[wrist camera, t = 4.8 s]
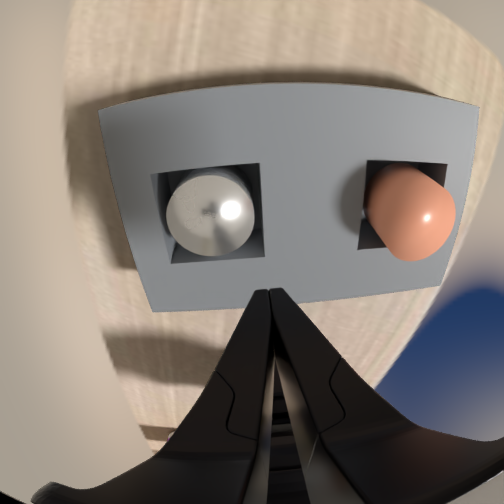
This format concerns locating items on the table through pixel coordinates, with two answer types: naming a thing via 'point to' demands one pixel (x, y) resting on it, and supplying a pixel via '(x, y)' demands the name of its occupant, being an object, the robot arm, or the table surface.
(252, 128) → the panel
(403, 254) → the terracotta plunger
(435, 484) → the robot arm
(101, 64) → the table surface
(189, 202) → the steel plunger
